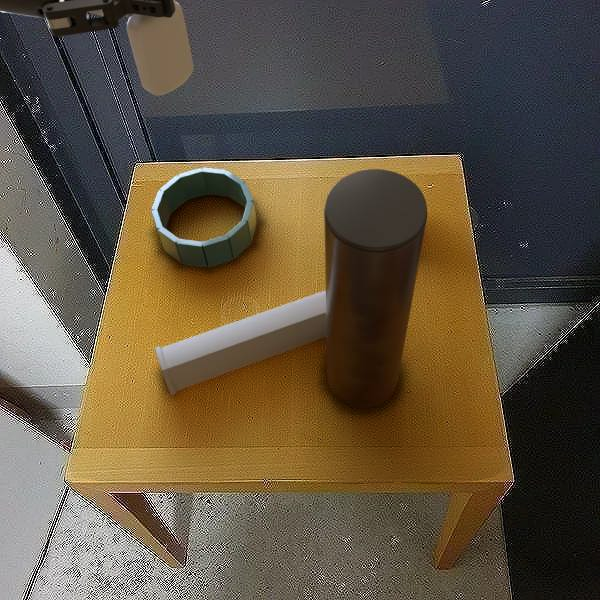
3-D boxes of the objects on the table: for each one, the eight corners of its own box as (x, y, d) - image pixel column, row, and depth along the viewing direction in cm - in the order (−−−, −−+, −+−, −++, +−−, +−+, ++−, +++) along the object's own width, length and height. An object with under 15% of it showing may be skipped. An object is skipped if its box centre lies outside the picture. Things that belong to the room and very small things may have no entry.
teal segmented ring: (148, 259, 88) (139, 238, 85) (175, 185, 95) (168, 163, 91) (243, 272, 87) (239, 251, 83) (264, 196, 93) (261, 173, 89)
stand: (321, 402, 77) (315, 241, 52) (333, 340, 81) (332, 162, 56) (393, 413, 76) (423, 255, 50) (401, 350, 80) (432, 173, 55)
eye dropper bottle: (137, 73, 71) (105, -38, 61) (190, 59, 72) (167, -52, 62) (147, 100, 69) (116, -10, 58) (201, 86, 69) (180, -25, 59)
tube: (356, 268, 82) (152, 339, 77) (375, 294, 78) (161, 370, 73) (360, 302, 85) (165, 372, 81) (378, 328, 81) (174, 403, 77)
